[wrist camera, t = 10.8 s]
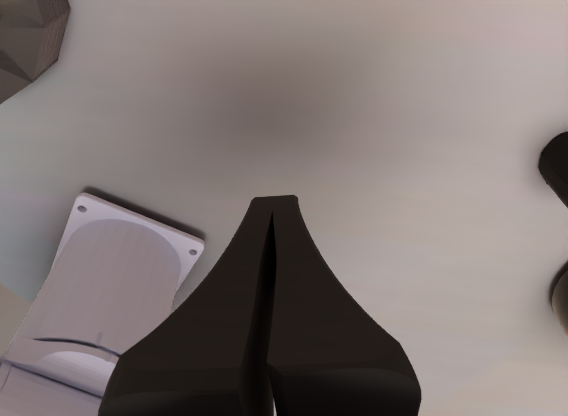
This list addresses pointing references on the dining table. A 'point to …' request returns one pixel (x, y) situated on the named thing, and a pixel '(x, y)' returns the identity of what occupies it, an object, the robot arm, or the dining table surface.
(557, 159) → the film camera
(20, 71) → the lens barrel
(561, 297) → the green wine bottle
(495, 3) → the dining table surface
